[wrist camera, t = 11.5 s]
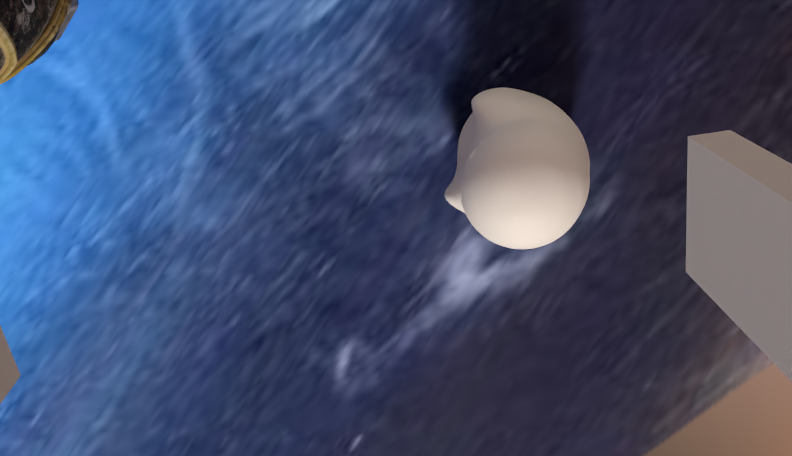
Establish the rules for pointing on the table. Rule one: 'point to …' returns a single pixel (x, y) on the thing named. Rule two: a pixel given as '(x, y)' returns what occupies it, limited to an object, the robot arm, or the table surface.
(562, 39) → the table surface
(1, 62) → the ring-topped bottle ornament
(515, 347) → the table surface
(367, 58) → the table surface
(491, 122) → the figurine
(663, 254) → the table surface
